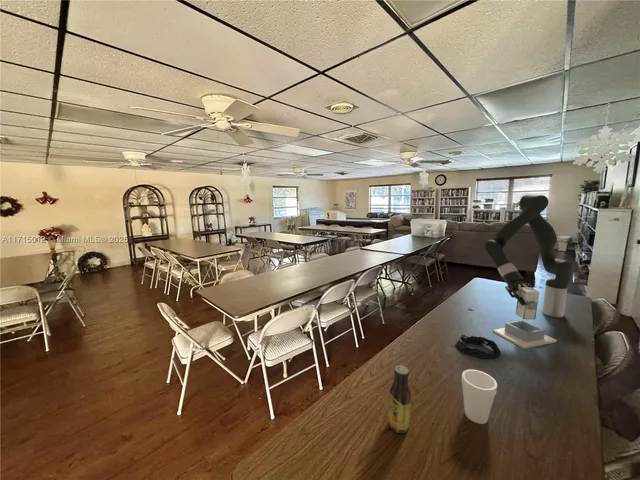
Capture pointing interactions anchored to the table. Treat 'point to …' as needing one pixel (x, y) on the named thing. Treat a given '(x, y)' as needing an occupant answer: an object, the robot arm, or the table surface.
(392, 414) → the sauce bottle
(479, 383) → the foam cup
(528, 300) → the syrup box
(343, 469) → the table surface
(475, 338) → the cable
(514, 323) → the end holder
